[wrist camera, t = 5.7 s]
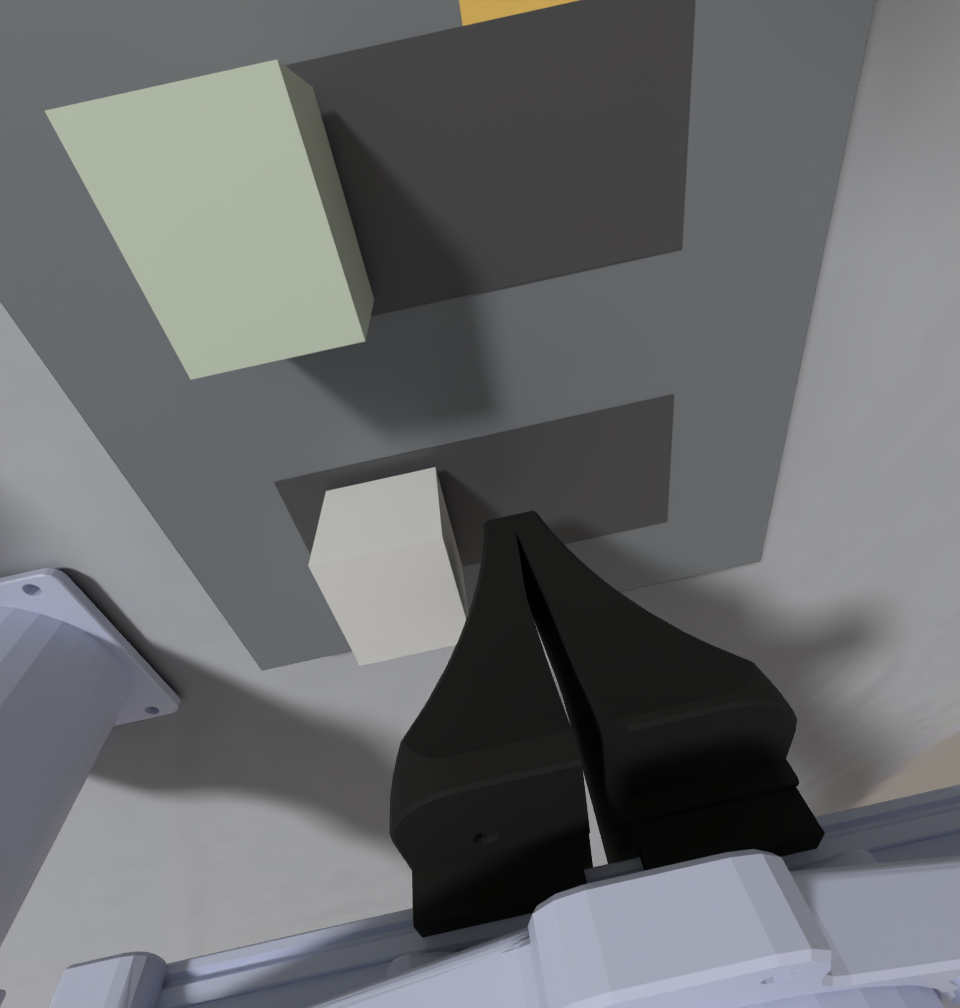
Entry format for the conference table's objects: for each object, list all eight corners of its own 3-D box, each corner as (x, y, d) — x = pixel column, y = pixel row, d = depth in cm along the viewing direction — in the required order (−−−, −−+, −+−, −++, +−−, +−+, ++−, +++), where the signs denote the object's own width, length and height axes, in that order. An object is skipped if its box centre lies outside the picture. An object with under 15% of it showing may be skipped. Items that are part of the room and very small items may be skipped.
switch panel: (274, 627, 19) (261, 671, 18) (-147, -38, 9) (-275, -83, 7) (729, 527, 19) (760, 562, 18) (846, -258, 9) (950, -355, 7)
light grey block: (367, 585, 15) (359, 665, 13) (326, 491, 13) (307, 565, 11) (461, 564, 15) (472, 641, 13) (435, 467, 13) (442, 536, 11)
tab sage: (239, 329, 11) (190, 379, 8) (145, 124, 9) (44, 110, 6) (374, 299, 11) (365, 341, 8) (312, 87, 9) (276, 59, 6)
